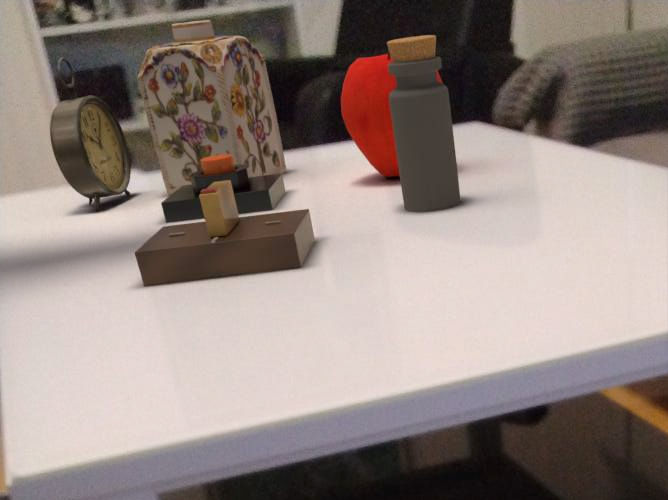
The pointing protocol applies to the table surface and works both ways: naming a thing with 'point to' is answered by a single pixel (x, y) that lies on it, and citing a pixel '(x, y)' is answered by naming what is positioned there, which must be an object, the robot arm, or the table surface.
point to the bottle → (422, 126)
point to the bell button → (217, 164)
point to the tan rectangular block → (219, 208)
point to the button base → (246, 189)
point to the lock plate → (226, 248)
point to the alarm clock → (89, 145)
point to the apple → (371, 111)
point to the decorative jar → (209, 104)
